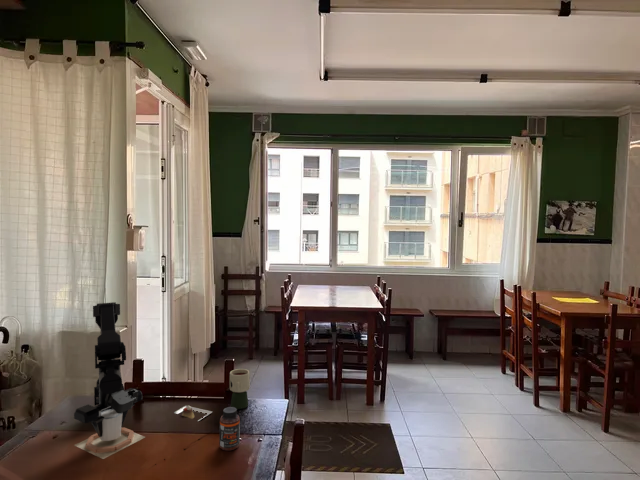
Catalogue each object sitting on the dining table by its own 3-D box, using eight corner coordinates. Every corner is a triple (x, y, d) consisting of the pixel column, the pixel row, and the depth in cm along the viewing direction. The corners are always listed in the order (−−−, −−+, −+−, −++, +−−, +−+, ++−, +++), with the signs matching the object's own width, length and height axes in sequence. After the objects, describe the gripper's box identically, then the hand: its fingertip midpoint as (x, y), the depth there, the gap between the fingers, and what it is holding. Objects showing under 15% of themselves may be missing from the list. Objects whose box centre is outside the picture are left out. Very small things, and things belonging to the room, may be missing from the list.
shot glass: (113, 443, 125) (112, 419, 125) (92, 440, 127) (92, 417, 126) (128, 431, 132) (127, 409, 132) (108, 429, 133) (108, 407, 133)
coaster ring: (78, 444, 127) (78, 441, 127) (116, 427, 138) (116, 424, 138) (103, 456, 121) (103, 453, 121) (141, 437, 132) (141, 434, 132)
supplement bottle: (222, 453, 125) (222, 415, 125) (217, 443, 131) (217, 407, 130) (242, 448, 128) (242, 411, 128) (236, 439, 134) (236, 403, 133)
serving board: (74, 449, 127) (73, 445, 127) (117, 429, 139) (117, 425, 139) (103, 463, 120) (103, 459, 120) (145, 440, 132) (145, 437, 132)
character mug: (231, 400, 161) (231, 366, 161) (250, 400, 162) (251, 366, 161) (227, 414, 150) (227, 377, 150) (247, 413, 151) (248, 377, 150)
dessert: (161, 423, 145) (161, 409, 144) (185, 408, 156) (185, 395, 155) (190, 430, 140) (189, 415, 140) (212, 414, 151) (212, 401, 151)
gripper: (96, 398, 116) (97, 454, 117) (153, 376, 132) (154, 426, 133) (72, 389, 122) (73, 443, 123) (130, 369, 138) (131, 417, 139)
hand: (110, 432), depth 129 cm, fingers closed on shot glass, 6 cm apart
